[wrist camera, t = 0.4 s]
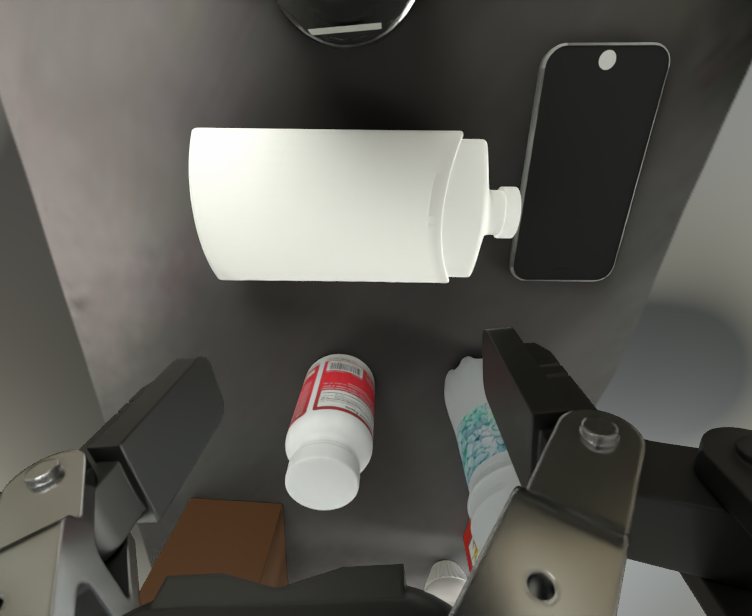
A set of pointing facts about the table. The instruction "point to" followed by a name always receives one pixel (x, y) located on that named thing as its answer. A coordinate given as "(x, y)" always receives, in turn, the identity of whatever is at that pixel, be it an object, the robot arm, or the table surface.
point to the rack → (223, 544)
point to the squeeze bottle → (344, 203)
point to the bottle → (479, 448)
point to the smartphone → (585, 157)
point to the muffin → (445, 581)
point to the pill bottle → (331, 433)
